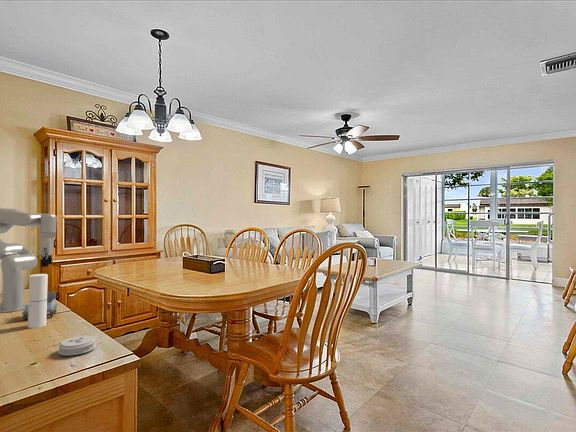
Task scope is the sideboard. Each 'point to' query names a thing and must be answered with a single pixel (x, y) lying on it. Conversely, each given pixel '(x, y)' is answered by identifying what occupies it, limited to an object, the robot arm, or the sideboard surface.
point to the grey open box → (50, 305)
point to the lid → (77, 345)
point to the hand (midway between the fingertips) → (46, 265)
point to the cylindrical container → (37, 300)
